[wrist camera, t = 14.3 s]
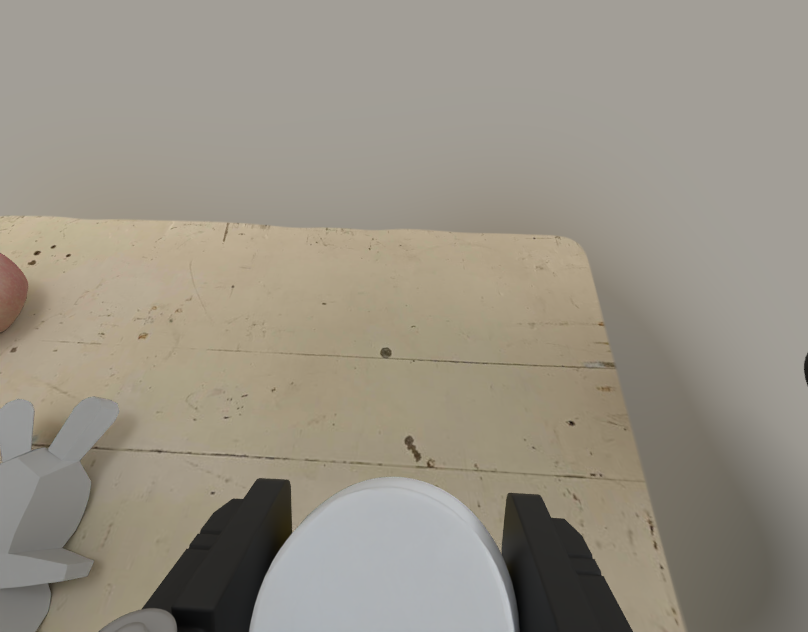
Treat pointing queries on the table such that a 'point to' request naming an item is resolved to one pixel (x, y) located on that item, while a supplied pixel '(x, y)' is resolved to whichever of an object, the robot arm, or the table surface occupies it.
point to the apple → (11, 292)
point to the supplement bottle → (388, 567)
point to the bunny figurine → (42, 506)
